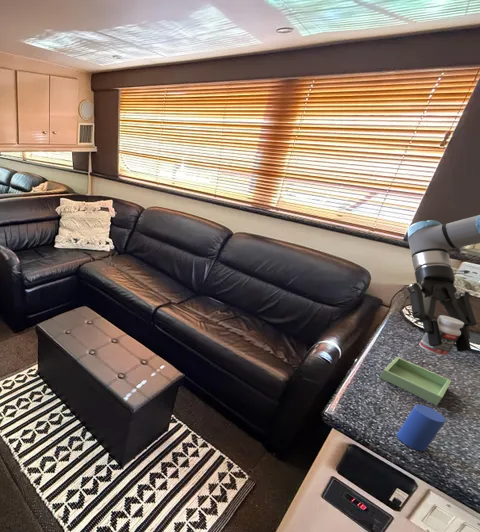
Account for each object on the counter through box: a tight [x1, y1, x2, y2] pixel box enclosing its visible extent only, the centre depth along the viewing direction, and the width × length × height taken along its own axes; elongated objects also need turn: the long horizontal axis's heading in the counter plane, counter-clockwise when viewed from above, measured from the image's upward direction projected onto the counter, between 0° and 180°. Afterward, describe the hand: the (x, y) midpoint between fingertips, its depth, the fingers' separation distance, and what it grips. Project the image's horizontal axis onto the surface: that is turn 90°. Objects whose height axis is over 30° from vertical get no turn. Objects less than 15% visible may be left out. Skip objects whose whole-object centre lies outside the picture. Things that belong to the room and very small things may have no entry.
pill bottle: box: [419, 314, 464, 357], centre depth 87 cm, size 6×6×10 cm
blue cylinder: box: [396, 404, 447, 452], centre depth 73 cm, size 5×5×9 cm
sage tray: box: [379, 356, 453, 406], centre depth 96 cm, size 13×15×3 cm
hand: (449, 347), depth 84 cm, fingers closed on pill bottle, 6 cm apart
